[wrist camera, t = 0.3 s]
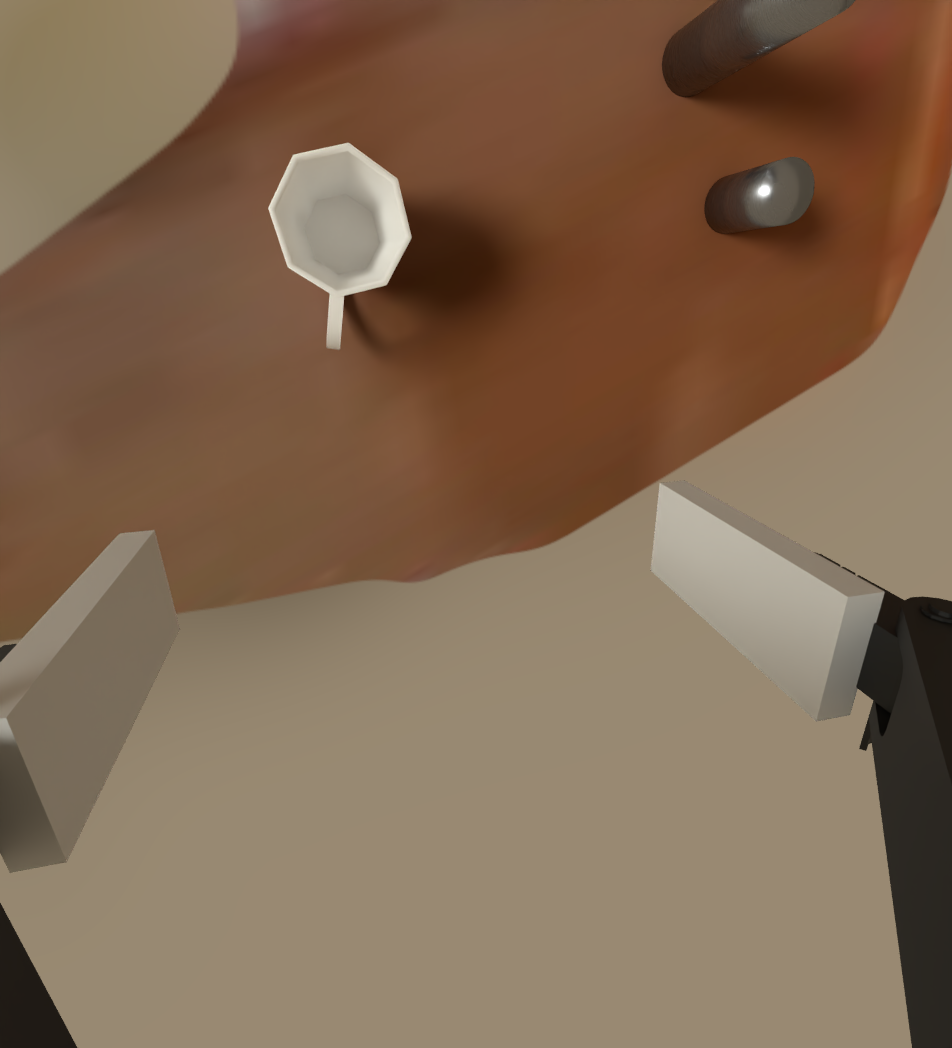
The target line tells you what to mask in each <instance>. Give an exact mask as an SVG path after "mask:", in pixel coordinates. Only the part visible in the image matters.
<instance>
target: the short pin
mask: <svg viewBox="0 0 952 1048" xmlns="http://www.w3.org/2000/svg"><path fill="white" fill-rule="evenodd" d="M813 193H814V176H813V173H812V170H811V168H810V166H809V165H808V164H807V163H806V162H805V161H804V160H803V159H800V158H797V157H789V158H785V159H782V160H778V161H775V162H772V163H768V164H765V165H762V166H758V167H755V168H752V169H748V170H745V171H742V172H739V173H735V174H732V175H729V176H725V177H723V178H721V179H719V180H718V181H717V182H716V183H715V184H714V185H713V186H712V187H711V189H710V190H709V192H708V194H707V197H706V201H705V217H706V220H707V223H708V224H709V226H710V227H711V228H712V229H713V230H714V231H716V232H718V233H721V234H727V233H734V232H741V231H747V230H754V229H760V228H767V227H774V226H780V225H787V224H790V223H792V222H794V221H796V220H797V219H799V218H800V217H801V216H802V215H803V214H804V213H805V211H806V210H807V208H808V206H809V205H810V202H811V200H812V197H813Z"/></svg>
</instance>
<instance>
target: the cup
mask: <svg viewBox="0 0 952 1048" xmlns="http://www.w3.org/2000/svg"><path fill="white" fill-rule="evenodd" d="M268 209H269V212H270V215H271V218H272V221H273V224H274V227H275V230H276V233H277V236H278V239H279V242H280V245H281V248H282V251H283V254H284V257H285V260H286V263H287V266H288V268H290V269H291V270H293V271H295V272H296V273H298V274H299V275H301V276H303V277H304V278H306V279H308V280H309V281H311V282H312V283H314V284H316V285H317V286H319V287H320V288H322V289H324V290H325V291H327V292H328V293H330V297H329V311H328V326H327V348H330V349H337V350H340V342H341V329H342V317H343V304H344V296H345V295H349V294H353V293H357V292H361V291H365V290H369V289H373V288H377V287H381V286H385V285H387V283H388V282H389V280H390V278H391V276H392V274H393V272H394V270H395V268H396V267H397V265H398V263H399V261H400V259H401V257H402V255H403V253H404V251H405V250H406V248H407V246H408V244H409V242H410V240H411V238H412V236H411V232H410V228H409V224H408V220H407V216H406V212H405V207H404V203H403V199H402V195H401V191H400V187H399V183H398V179H397V178H396V177H394V176H393V175H392V174H390V173H389V172H388V171H386V170H385V169H384V168H382V167H381V166H379V165H378V164H377V163H375V162H374V161H373V160H371V159H370V158H369V157H367V156H366V155H364V154H363V153H362V152H360V151H359V150H358V149H356V148H355V147H354V146H352V145H351V144H349V143H345V144H340V145H336V146H331V147H327V148H322V149H318V150H313V151H308V152H304V153H299V154H295V155H293V157H292V159H291V161H290V163H289V165H288V167H287V169H286V172H285V174H284V176H283V178H282V180H281V182H280V184H279V187H278V189H277V191H276V193H275V195H274V197H273V199H272V202H271V204H270V206H269V208H268Z"/></svg>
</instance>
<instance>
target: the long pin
mask: <svg viewBox="0 0 952 1048" xmlns="http://www.w3.org/2000/svg"><path fill="white" fill-rule="evenodd" d="M854 1H855V0H717V1H716V2H715V3H714V4H712V5H711V6H710V7H709V8H707V9H706V10H705V11H703V12H702V13H701V14H700V15H698V16H697V17H696V18H694V19H693V20H692V21H691V22H689V23H688V24H687V25H685V26H684V27H683V28H682V29H680V30H679V31H678V32H677V33H675V34H674V35H673V36H672V38H671V39H670V40H669V42H668V44H667V46H666V48H665V51H664V55H663V61H662V70H663V76H664V79H665V81H666V84H667V85H668V87H669V88H670V90H671V91H672V92H674V93H675V94H677V95H679V96H682V97H690V96H693V95H696V94H697V93H699V92H701V91H703V90H704V89H706V88H708V87H710V86H712V85H713V84H715V83H717V82H719V81H720V80H722V79H724V78H726V77H728V76H729V75H731V74H733V73H735V72H736V71H738V70H740V69H742V68H744V67H745V66H747V65H749V64H751V63H752V62H754V61H756V60H758V59H760V58H761V57H763V56H765V55H767V54H769V53H770V52H772V51H774V50H776V49H777V48H779V47H781V46H783V45H785V44H786V43H788V42H790V41H792V40H793V39H795V38H797V37H799V36H801V35H802V34H804V33H806V32H808V31H809V30H811V29H813V28H815V27H817V26H818V25H820V24H822V23H824V22H825V21H827V20H829V19H831V18H833V17H834V16H836V15H838V14H840V13H841V12H843V11H845V10H846V9H847V8H849V7H850V6H851V5H852V4H853V3H854Z"/></svg>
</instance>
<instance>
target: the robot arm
mask: <svg viewBox="0 0 952 1048" xmlns="http://www.w3.org/2000/svg"><path fill="white" fill-rule="evenodd" d="M651 571H652V572H653V573H654V574H655V575H656V576H657V577H658V578H659V579H661V580H662V581H663V582H664V583H665V584H666V585H667V586H668V587H669V588H670V589H672V590H673V591H674V592H675V593H676V594H677V595H678V596H679V597H680V598H681V599H682V600H684V601H685V602H686V603H687V604H688V605H689V606H690V607H691V608H692V609H694V610H695V611H696V612H697V613H698V614H699V615H700V616H701V617H702V618H703V619H705V620H706V621H707V622H708V623H709V624H710V625H711V626H712V627H713V628H714V629H716V631H718V632H719V633H720V634H721V635H722V636H723V637H724V638H725V639H727V641H729V642H730V643H731V644H732V645H733V646H734V647H735V648H736V649H737V650H739V651H740V652H741V653H742V654H743V655H744V656H745V657H746V658H747V659H748V660H749V661H750V662H752V663H753V664H754V665H755V666H756V667H757V668H758V669H759V670H760V671H761V672H763V673H764V674H765V675H766V676H767V677H768V678H769V679H770V680H771V681H773V682H774V683H775V684H776V685H777V686H778V687H779V688H780V689H781V690H782V691H783V692H785V693H786V694H787V695H788V696H789V697H790V698H791V699H792V700H793V701H794V702H795V703H797V704H798V705H799V706H800V707H801V708H802V709H803V710H804V711H805V712H806V713H808V714H809V715H810V716H811V717H812V718H813V719H814V720H815V721H821V720H826V719H831V718H837V717H842V716H847V715H850V713H851V710H852V706H853V703H854V699H855V696H856V692H857V688H858V689H859V690H861V691H862V692H863V693H864V694H866V695H867V696H869V697H870V698H871V699H872V700H874V701H873V704H872V708H871V711H870V714H869V718H868V721H867V724H866V728H865V731H864V734H863V738H862V741H861V745H860V749H862V750H865V751H866V749H867V746H868V744H870V743H872V747H873V755H874V762H875V770H876V778H877V785H878V793H879V800H880V808H881V815H882V823H883V831H884V838H885V846H886V853H887V861H888V868H889V876H890V884H891V891H892V898H893V906H894V914H895V921H896V928H897V936H898V943H899V952H900V959H901V967H902V975H903V982H904V989H905V997H906V1005H907V1012H908V1019H909V1028H910V1035H911V1043H912V1048H952V601H948V600H943V599H939V598H930V597H912V598H909V599H907V600H903V599H901V598H899V597H897V596H895V595H894V594H892V593H890V592H888V591H887V590H885V589H883V588H881V587H879V586H877V585H876V584H874V583H872V582H870V581H868V580H867V579H865V578H863V577H861V576H859V575H858V576H856V575H855V573H854V572H852V571H850V570H848V569H847V568H845V567H840V565H839V564H838V563H836V562H834V561H832V560H830V559H828V558H827V557H825V556H823V555H821V554H818V553H815V552H812V551H811V550H809V549H807V548H805V547H803V546H802V545H800V544H798V543H796V542H794V541H793V540H791V539H789V538H787V537H785V536H784V535H782V534H780V533H778V532H776V531H775V530H773V529H771V528H769V527H767V526H766V525H764V524H762V523H760V522H758V521H757V520H755V519H753V518H751V517H750V516H748V515H746V514H744V513H742V512H741V511H739V510H737V509H735V508H733V507H731V506H730V505H728V504H726V503H724V502H723V501H720V500H719V499H717V498H715V497H714V496H712V495H710V494H708V493H706V492H705V491H703V490H701V489H699V488H697V487H696V486H694V485H692V484H690V483H688V482H687V481H674V482H663V483H660V487H659V496H658V506H657V515H656V525H655V535H654V544H653V553H652V563H651ZM179 629H180V628H179V624H178V620H177V616H176V612H175V608H174V604H173V600H172V596H171V592H170V588H169V585H168V581H167V577H166V573H165V569H164V565H163V561H162V557H161V553H160V549H159V545H158V542H157V538H156V534H155V530H152V531H141V532H130V533H120V534H119V535H118V536H117V537H116V538H115V539H114V540H113V541H112V542H111V543H110V544H109V545H108V547H107V548H106V549H105V550H104V551H103V552H102V553H101V554H100V555H99V556H98V557H97V558H96V559H95V561H94V562H93V563H92V564H91V565H90V566H89V567H88V568H87V569H86V570H85V571H84V572H83V574H82V575H81V576H80V577H79V578H78V579H77V580H76V581H75V582H74V583H73V584H72V585H71V586H70V588H69V589H68V590H67V591H66V592H65V593H64V594H63V595H62V596H61V597H60V598H59V599H58V601H57V602H56V603H55V604H54V605H53V606H52V607H51V608H50V609H49V610H48V611H47V612H46V613H45V615H44V616H43V617H42V618H41V619H40V620H39V621H38V622H37V623H36V624H35V625H34V626H33V628H32V629H31V630H30V631H29V632H28V633H27V634H26V635H25V636H24V637H23V638H22V639H21V640H20V642H19V643H18V644H12V645H4V646H2V647H1V648H0V853H1V855H2V857H3V859H4V862H5V864H6V866H7V868H8V870H9V872H10V873H11V872H16V871H21V870H27V869H32V868H38V867H43V866H48V865H53V864H59V863H64V862H67V860H68V858H69V856H70V854H71V852H72V850H73V848H74V846H75V844H76V842H77V839H78V837H79V836H80V834H81V831H82V829H83V827H84V825H85V823H86V821H87V819H88V817H89V815H90V813H91V811H92V809H93V807H94V805H95V803H96V801H97V798H98V796H99V794H100V792H101V790H102V788H103V786H104V784H105V782H106V780H107V778H108V776H109V774H110V772H111V769H112V768H113V766H114V764H115V761H116V759H117V757H118V755H119V753H120V751H121V749H122V747H123V745H124V743H125V741H126V739H127V737H128V735H129V733H130V731H131V729H132V726H133V724H134V722H135V720H136V718H137V716H138V714H139V712H140V710H141V708H142V706H143V704H144V702H145V700H146V698H147V696H148V693H149V691H150V689H151V687H152V685H153V683H154V681H155V679H156V677H157V675H158V673H159V671H160V669H161V667H162V665H163V663H164V661H165V659H166V656H167V654H168V652H169V650H170V648H171V646H172V644H173V642H174V640H175V638H176V635H177V634H178V632H179ZM0 1048H77V1046H76V1044H75V1043H74V1041H73V1039H72V1037H71V1035H70V1033H69V1031H68V1029H67V1028H66V1026H65V1024H64V1022H63V1020H62V1018H61V1016H60V1014H59V1012H58V1010H57V1009H56V1007H55V1005H54V1003H53V1001H52V999H51V997H50V995H49V994H48V992H47V990H46V988H45V986H44V984H43V983H42V980H41V979H40V977H39V975H38V973H37V971H36V969H35V967H34V965H33V963H32V962H31V960H30V958H29V956H28V954H27V952H26V950H25V948H24V947H23V945H22V943H21V941H20V939H19V937H18V935H17V934H16V932H15V930H14V928H13V926H12V924H11V922H10V920H9V918H8V917H7V915H6V913H5V911H4V909H3V907H2V905H1V903H0Z"/></svg>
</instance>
